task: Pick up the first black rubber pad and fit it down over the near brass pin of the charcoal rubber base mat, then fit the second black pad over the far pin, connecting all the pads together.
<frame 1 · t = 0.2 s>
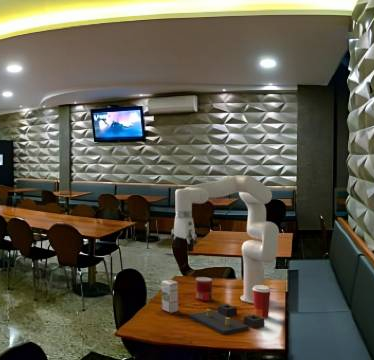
hand: (183, 249, 214), 31 cm above the table, tool pointing down, fingers open, 9 cm apart
pad b: (253, 325, 198), on the table
canned food: (203, 299, 235), on the table
paper cup: (261, 316, 209), on the table
syrup box: (169, 310, 219), on the table
base mat: (217, 323, 201), on the table
pad a: (227, 313, 213), on the table
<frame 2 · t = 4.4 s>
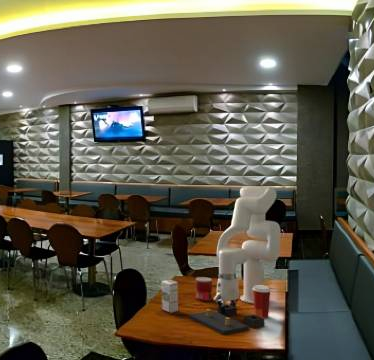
hand: (227, 312, 213), 1 cm above the table, tool pointing down, fingers closed on pad a, 6 cm apart
pad a: (227, 313, 213), on the table, touching gripper
everything else where it was.
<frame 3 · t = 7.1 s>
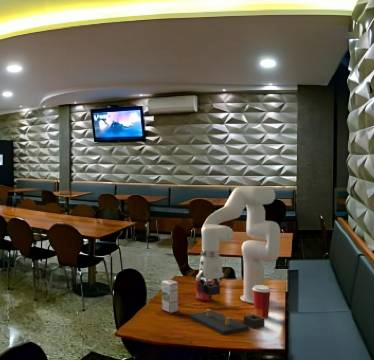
hand: (210, 291, 206), 13 cm above the table, tool pointing down, fingers closed on pad a, 6 cm apart
pad a: (210, 292, 206), point 12 cm above the table, touching gripper
everything else where it was.
when the fingers open (2 cm above the table, at t = 10.1 s): pad a stays where it is, resting on base mat.
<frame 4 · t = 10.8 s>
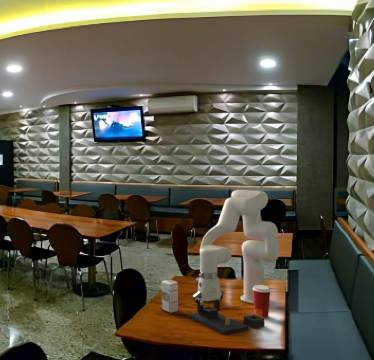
hand: (208, 311, 206), 4 cm above the table, tool pointing down, fingers open, 9 cm apart
pad a: (208, 316, 206), point 1 cm above the table, touching base mat
everything else where it was.
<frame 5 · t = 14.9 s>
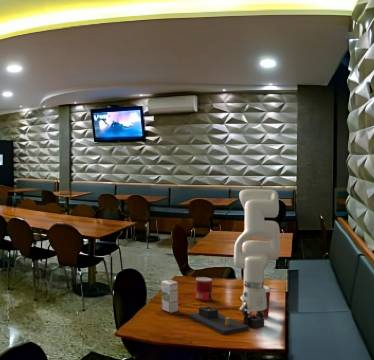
hand: (253, 323, 198), 1 cm above the table, tool pointing down, fingers closed on pad b, 6 cm apart
pad b: (253, 325, 198), on the table, touching gripper
everything else where it was.
when the fingers open (2 cm above the table, at t = 20.7 s): pad b stays where it is, resting on base mat.
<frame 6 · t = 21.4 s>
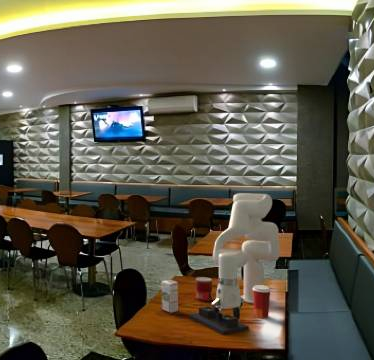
hand: (227, 319, 195), 4 cm above the table, tool pointing down, fingers open, 9 cm apart
pad b: (227, 324, 195), point 1 cm above the table, touching base mat
everything else where it was.
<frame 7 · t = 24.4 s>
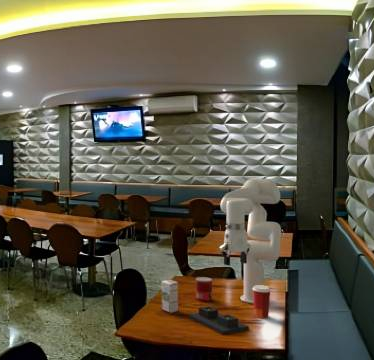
hand: (235, 263, 203), 26 cm above the table, tool pointing down, fingers open, 9 cm apart
nothing on the table moved.
at the end: pad a 0.1 cm from the target spot on the base mat, point 1.5 cm above the base mat's base; pad b 0.1 cm from the target spot on the base mat, point 1.5 cm above the base mat's base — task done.
